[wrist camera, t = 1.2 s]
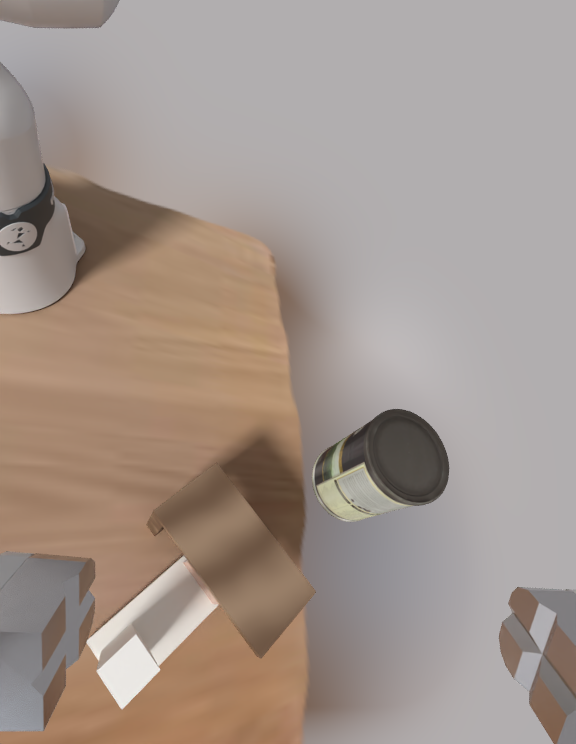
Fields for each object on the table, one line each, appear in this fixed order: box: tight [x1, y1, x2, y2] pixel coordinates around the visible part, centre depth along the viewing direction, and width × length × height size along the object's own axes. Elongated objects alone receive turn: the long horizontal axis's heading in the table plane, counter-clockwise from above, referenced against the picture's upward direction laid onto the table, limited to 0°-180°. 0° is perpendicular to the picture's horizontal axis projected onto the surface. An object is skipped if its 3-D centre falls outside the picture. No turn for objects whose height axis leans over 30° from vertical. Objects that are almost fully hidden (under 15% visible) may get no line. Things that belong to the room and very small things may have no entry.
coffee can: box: [312, 409, 449, 522], centre depth 47 cm, size 10×10×14 cm
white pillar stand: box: [87, 555, 218, 709], centre depth 36 cm, size 6×18×11 cm, turn 133°
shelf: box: [147, 463, 316, 658], centre depth 39 cm, size 15×7×10 cm, turn 43°
